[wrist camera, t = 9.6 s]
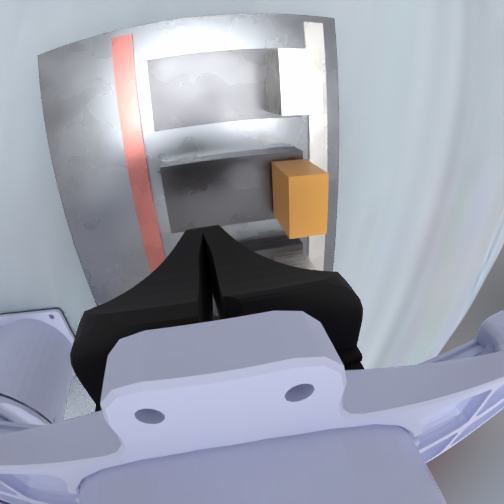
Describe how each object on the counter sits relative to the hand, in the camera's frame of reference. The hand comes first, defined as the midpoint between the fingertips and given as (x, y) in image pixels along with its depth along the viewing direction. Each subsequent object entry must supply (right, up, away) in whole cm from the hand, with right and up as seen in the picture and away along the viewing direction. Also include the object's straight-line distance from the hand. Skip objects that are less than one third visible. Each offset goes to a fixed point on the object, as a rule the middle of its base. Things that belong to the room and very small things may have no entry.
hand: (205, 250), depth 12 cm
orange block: (+4, +4, +6) cm, 8 cm away
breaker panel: (-1, +3, +9) cm, 9 cm away
